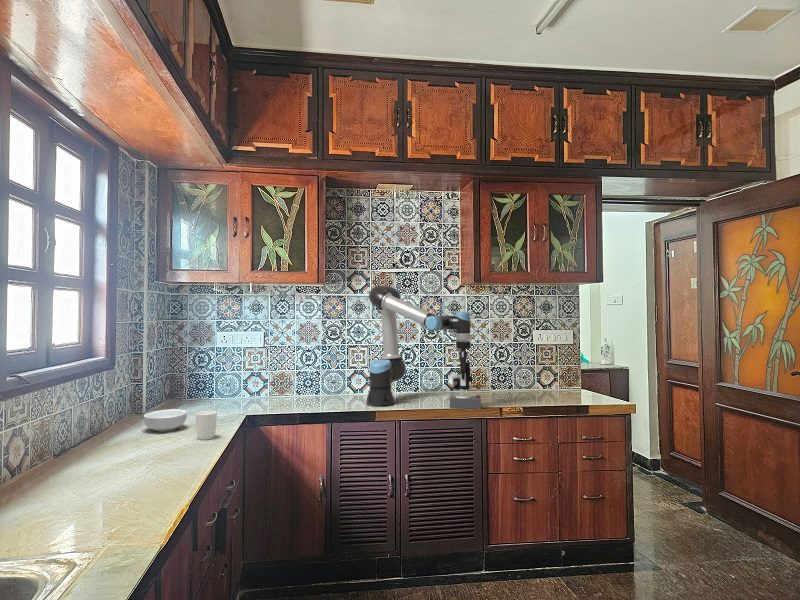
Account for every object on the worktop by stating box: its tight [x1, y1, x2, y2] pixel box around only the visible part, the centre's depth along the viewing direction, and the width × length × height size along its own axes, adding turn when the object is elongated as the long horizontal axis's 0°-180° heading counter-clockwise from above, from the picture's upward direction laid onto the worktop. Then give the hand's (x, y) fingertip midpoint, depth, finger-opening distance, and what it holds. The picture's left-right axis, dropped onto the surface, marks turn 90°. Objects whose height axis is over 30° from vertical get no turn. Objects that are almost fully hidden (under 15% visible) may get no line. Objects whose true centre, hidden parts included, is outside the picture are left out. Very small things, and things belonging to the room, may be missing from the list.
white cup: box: [195, 410, 218, 441], centre depth 199 cm, size 8×8×10 cm
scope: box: [452, 362, 473, 391], centre depth 260 cm, size 8×14×10 cm
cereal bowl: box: [143, 408, 188, 433], centre depth 212 cm, size 17×17×7 cm
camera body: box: [449, 394, 482, 410], centre depth 260 cm, size 16×8×6 cm, turn 79°
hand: (463, 384), depth 260 cm, fingers closed on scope, 8 cm apart
